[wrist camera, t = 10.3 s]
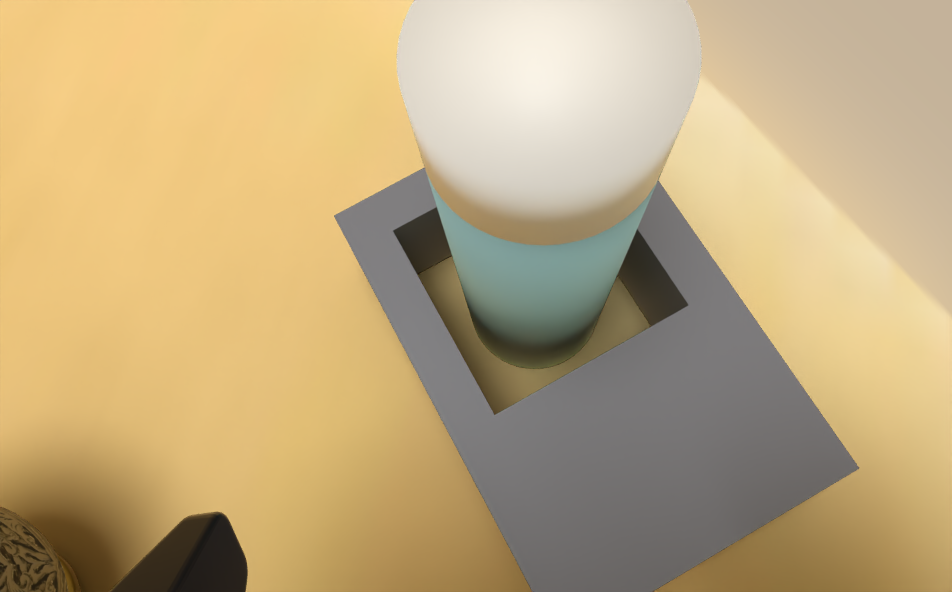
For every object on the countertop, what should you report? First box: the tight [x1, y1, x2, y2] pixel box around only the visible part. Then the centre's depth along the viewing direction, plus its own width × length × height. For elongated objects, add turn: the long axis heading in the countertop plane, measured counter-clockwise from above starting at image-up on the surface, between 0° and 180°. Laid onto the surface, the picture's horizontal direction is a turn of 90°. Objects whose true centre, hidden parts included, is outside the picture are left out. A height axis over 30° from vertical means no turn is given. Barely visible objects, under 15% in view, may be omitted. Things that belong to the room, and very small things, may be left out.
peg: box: [397, 0, 701, 369], centre depth 15 cm, size 4×4×13 cm
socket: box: [334, 168, 859, 592], centre depth 19 cm, size 12×8×4 cm, turn 29°
